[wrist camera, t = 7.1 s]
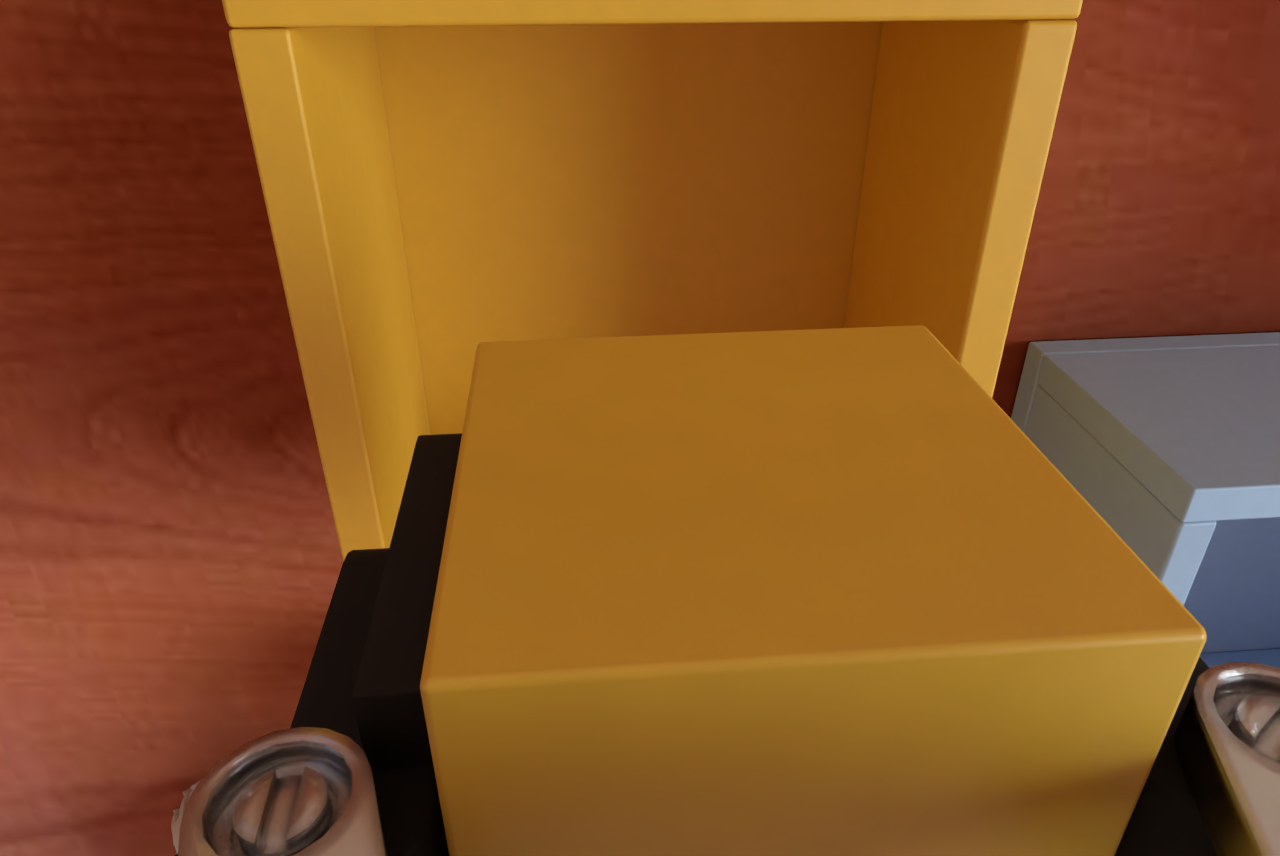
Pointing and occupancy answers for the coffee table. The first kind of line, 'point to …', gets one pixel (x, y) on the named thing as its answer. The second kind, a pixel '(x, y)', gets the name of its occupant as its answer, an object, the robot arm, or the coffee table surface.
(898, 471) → the mustard block
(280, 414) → the coffee table surface
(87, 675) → the coffee table surface
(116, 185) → the coffee table surface
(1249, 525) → the blue bin
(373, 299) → the mustard bin
